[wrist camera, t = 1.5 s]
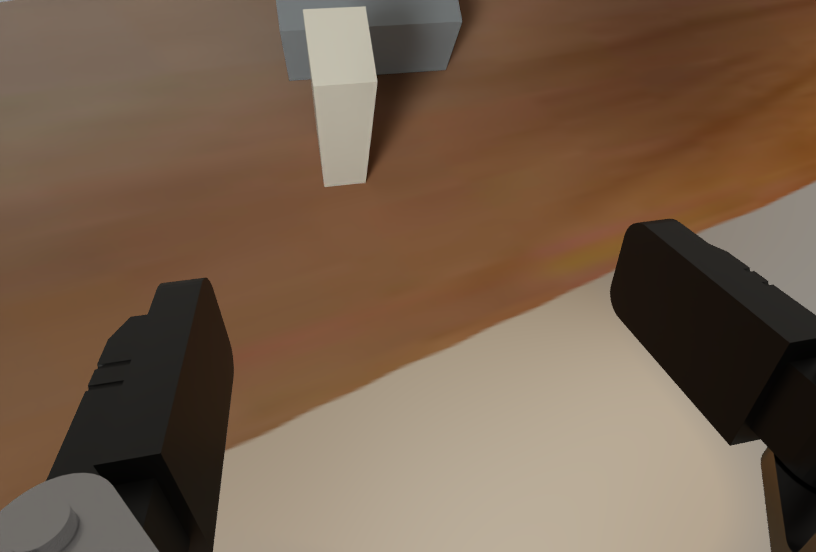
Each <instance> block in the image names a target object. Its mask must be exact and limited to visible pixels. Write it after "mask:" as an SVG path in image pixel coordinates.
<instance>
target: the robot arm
mask: <svg viewBox="0 0 816 552" xmlns="http://www.w3.org/2000/svg"><path fill="white" fill-rule="evenodd" d="M610 297H611V303H612V306H613V309H614V311H615V313H616V315H617V316H618V317H619V318H620V320H621V321H622V322H623V323H624V324H625V325H626V327H627V328H628V329H629V330H630V331H631V332H632V333H633V335H634V336H635V337H636V338H637V339H638V340H639V342H640V343H641V344H642V345H643V346H644V347H645V348H646V350H647V351H648V352H649V353H650V354H651V355H652V356H653V358H654V359H655V360H656V361H657V362H658V363H659V365H660V366H661V367H662V368H663V369H664V370H665V371H666V373H667V374H668V375H669V376H670V377H671V378H672V380H673V381H674V382H675V383H676V384H677V385H678V386H679V388H681V390H682V391H683V392H684V393H685V394H686V396H687V397H688V398H689V399H690V400H691V401H692V402H693V404H694V405H695V406H696V407H697V408H698V409H699V411H700V412H701V413H702V414H703V415H704V416H705V418H706V419H707V420H708V421H709V422H710V423H711V424H712V426H713V427H714V428H715V429H716V430H717V431H718V432H719V434H720V435H721V436H722V437H723V438H724V439H725V441H727V443H728V444H729V445H730V446H731V445H735V444H740V443H745V442H749V441H754V440H759V439H761V440H762V441H763V442H764V443H765V444H766V445H767V446H768V447H767V448H766V450H765V451H764V453H763V454H762V457H761V470H762V479H763V487H764V496H765V504H766V513H767V521H768V530H769V538H770V547H771V552H816V315H815V314H813V313H812V312H810V311H809V310H808V309H806V308H805V307H803V306H802V305H801V304H799V303H798V302H797V301H795V300H793V299H792V298H791V297H790V296H788V295H787V294H785V293H784V292H783V291H781V290H780V289H778V288H777V287H776V286H774V285H769V284H768V281H767V280H766V279H764V278H763V277H762V276H760V275H759V274H757V273H756V272H755V271H753V272H751V271H750V268H749V267H748V266H746V265H745V264H744V263H742V262H741V261H740V260H738V259H736V258H735V257H734V256H732V255H731V254H730V253H728V252H727V251H724V250H722V249H720V248H717V247H715V246H713V245H711V244H708V243H707V242H706V241H704V240H703V239H702V238H700V237H699V236H698V235H696V234H695V233H693V232H692V231H691V230H689V229H688V228H687V227H685V226H684V225H683V224H681V223H680V222H678V221H677V220H674V219H664V220H656V221H648V222H640V223H634V224H632V225H631V226H630V227H629V228H628V229H627V231H626V233H625V236H624V240H623V243H622V247H621V251H620V254H619V258H618V262H617V265H616V269H615V273H614V277H613V280H612V284H611V289H610ZM97 365H98V369H96V370H95V371H94V373H93V375H92V378H91V380H90V382H89V384H88V388H89V390H88V391H85V394H84V396H83V398H82V400H81V403H80V405H79V407H78V409H77V412H76V414H75V416H74V419H73V421H72V423H71V425H70V428H69V430H68V432H67V435H66V437H65V439H64V441H63V444H62V446H61V448H60V451H59V453H58V455H57V457H56V460H55V462H54V464H53V467H52V469H51V471H50V473H49V476H48V478H47V480H46V481H45V482H43V483H41V484H39V485H37V486H35V487H33V488H31V489H30V490H28V491H26V492H25V493H23V494H22V495H20V496H19V497H17V498H16V499H14V500H13V501H12V502H11V503H9V504H8V505H7V506H6V507H5V508H3V509H2V510H1V511H0V552H213V545H214V536H215V528H216V520H217V511H218V503H219V494H220V486H221V477H222V469H223V460H224V452H225V444H226V435H227V427H228V418H229V410H230V401H231V393H232V384H233V375H234V366H233V355H232V349H231V344H230V341H229V338H228V335H227V331H226V328H225V325H224V322H223V319H222V316H221V312H220V309H219V306H218V303H217V300H216V297H215V293H214V290H213V287H212V285H211V283H210V281H209V280H208V278H199V279H191V280H183V281H176V282H168V283H161V284H160V285H159V286H158V288H157V290H156V293H155V296H154V299H153V301H152V304H151V307H150V310H149V312H148V315H141V316H134V317H130V318H129V319H128V320H127V321H126V322H125V323H124V324H123V325H122V326H121V327H120V328H119V329H118V330H117V331H116V332H115V333H114V334H113V335H112V336H111V337H110V338H109V339H108V341H107V343H106V346H105V348H104V350H103V352H102V355H101V357H100V359H99V362H98V364H97Z"/></svg>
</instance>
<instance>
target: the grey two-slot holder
mask: <svg viewBox="0 0 816 552" xmlns="http://www.w3.org/2000/svg"><path fill="white" fill-rule="evenodd" d="M276 4H277V12H278V20H279V28H280V34H281V39H282V45H283V50H284V55H285V60H286V65H287V71H288V76H289V81H292V80H306V79H311V76H310V68H309V59H308V51H307V42H306V34H305V25H304V16H303V9H320V8H341V7H363V6H366V13H367V19H368V25H369V31H370V38H371V44H372V50H373V57H374V63H375V69H376V75H379V74H394V73H408V72H423V71H437V70H446V68H447V65H448V62H449V59H450V56H451V53H452V50H453V47H454V44H455V41H456V38H457V36H458V33H459V30H460V27H461V24H462V17H461V12H460V7H459V2H458V0H276Z"/></svg>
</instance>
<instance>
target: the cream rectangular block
mask: <svg viewBox="0 0 816 552" xmlns="http://www.w3.org/2000/svg"><path fill="white" fill-rule="evenodd" d="M303 16H304V25H305V34H306V42H307V51H308V59H309V68H310V76H311V85H312V94H313V102H314V111H315V119H316V128H317V136H318V144H319V151H320V159H321V166H322V173H323V181H324V187H328V186H338V185H348V184H358V183H366V175H367V167H368V158H369V150H370V141H371V133H372V124H373V116H374V107H375V99H376V90H377V76H376V69H375V63H374V57H373V50H372V44H371V38H370V31H369V25H368V19H367V13H366V6H363V7H341V8H320V9H303Z"/></svg>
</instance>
